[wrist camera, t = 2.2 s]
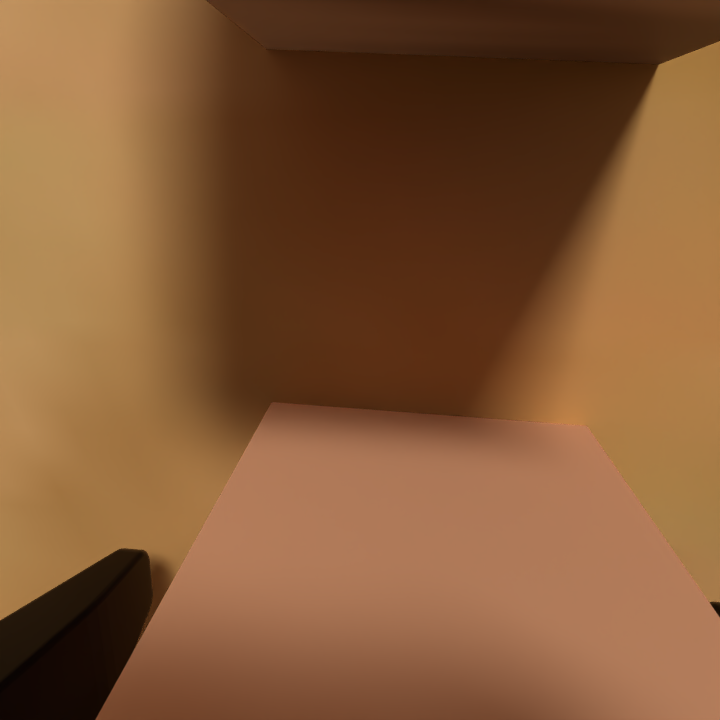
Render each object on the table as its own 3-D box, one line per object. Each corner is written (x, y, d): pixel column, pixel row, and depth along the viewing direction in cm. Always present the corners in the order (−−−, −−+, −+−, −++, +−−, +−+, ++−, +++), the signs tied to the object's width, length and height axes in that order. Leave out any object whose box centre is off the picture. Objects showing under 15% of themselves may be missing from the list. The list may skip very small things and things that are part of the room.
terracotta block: (586, 424, 9) (915, 901, 3) (536, 664, 10) (692, 1255, 5) (271, 400, 9) (53, 797, 3) (273, 638, 11) (129, 1165, 5)
